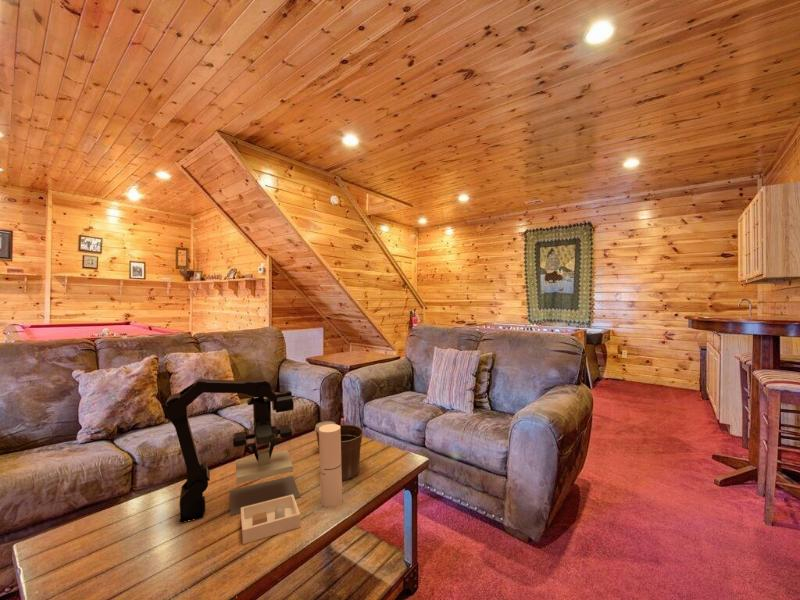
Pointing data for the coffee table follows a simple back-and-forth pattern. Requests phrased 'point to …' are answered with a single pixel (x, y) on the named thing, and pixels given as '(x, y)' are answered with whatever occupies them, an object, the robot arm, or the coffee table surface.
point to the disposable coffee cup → (320, 426)
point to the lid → (263, 466)
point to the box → (269, 518)
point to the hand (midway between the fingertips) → (263, 459)
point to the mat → (262, 493)
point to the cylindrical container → (330, 465)
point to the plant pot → (350, 450)
